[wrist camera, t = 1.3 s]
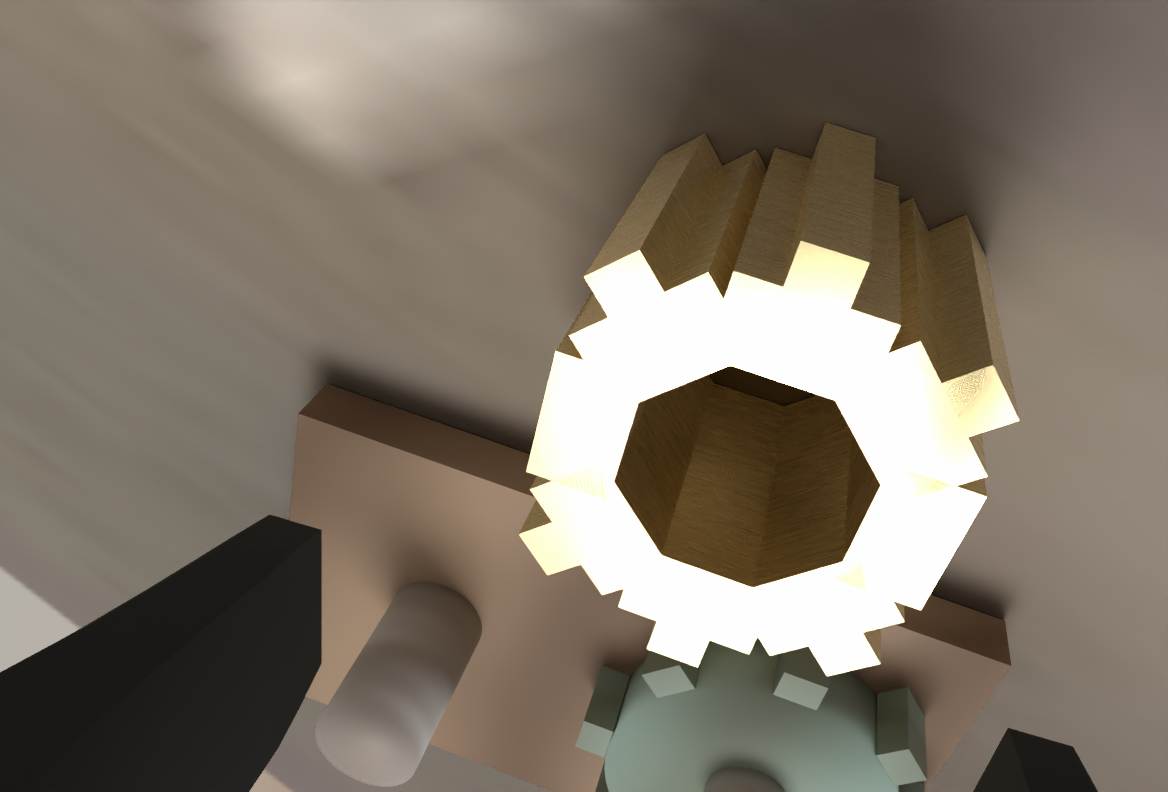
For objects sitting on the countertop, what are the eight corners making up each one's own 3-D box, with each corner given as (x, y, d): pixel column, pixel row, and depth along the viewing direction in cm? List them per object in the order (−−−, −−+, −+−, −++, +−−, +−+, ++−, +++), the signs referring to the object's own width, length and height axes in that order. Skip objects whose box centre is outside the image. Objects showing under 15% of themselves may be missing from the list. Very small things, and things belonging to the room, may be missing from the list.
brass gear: (1030, 185, 15) (1082, 330, 11) (863, 521, 19) (854, 725, 15) (676, 75, 16) (599, 175, 12) (580, 424, 19) (495, 594, 15)
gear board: (1004, 620, 19) (1033, 830, 15) (851, 858, 24) (843, 1068, 20) (327, 383, 21) (194, 521, 17) (300, 649, 25) (189, 807, 21)
